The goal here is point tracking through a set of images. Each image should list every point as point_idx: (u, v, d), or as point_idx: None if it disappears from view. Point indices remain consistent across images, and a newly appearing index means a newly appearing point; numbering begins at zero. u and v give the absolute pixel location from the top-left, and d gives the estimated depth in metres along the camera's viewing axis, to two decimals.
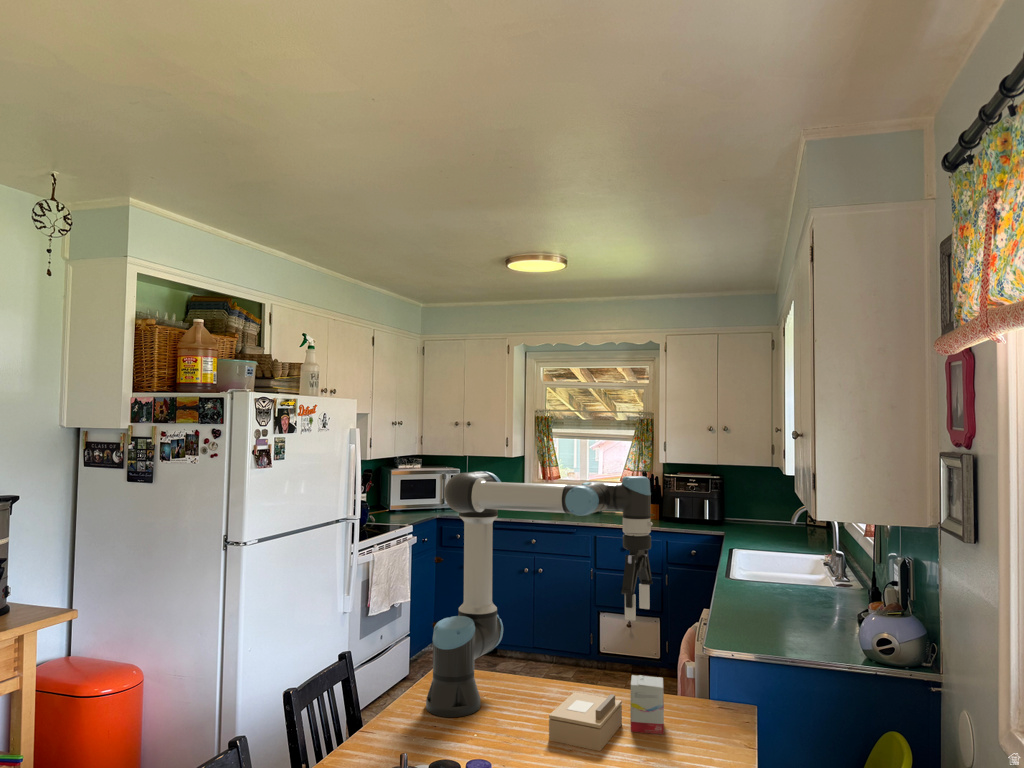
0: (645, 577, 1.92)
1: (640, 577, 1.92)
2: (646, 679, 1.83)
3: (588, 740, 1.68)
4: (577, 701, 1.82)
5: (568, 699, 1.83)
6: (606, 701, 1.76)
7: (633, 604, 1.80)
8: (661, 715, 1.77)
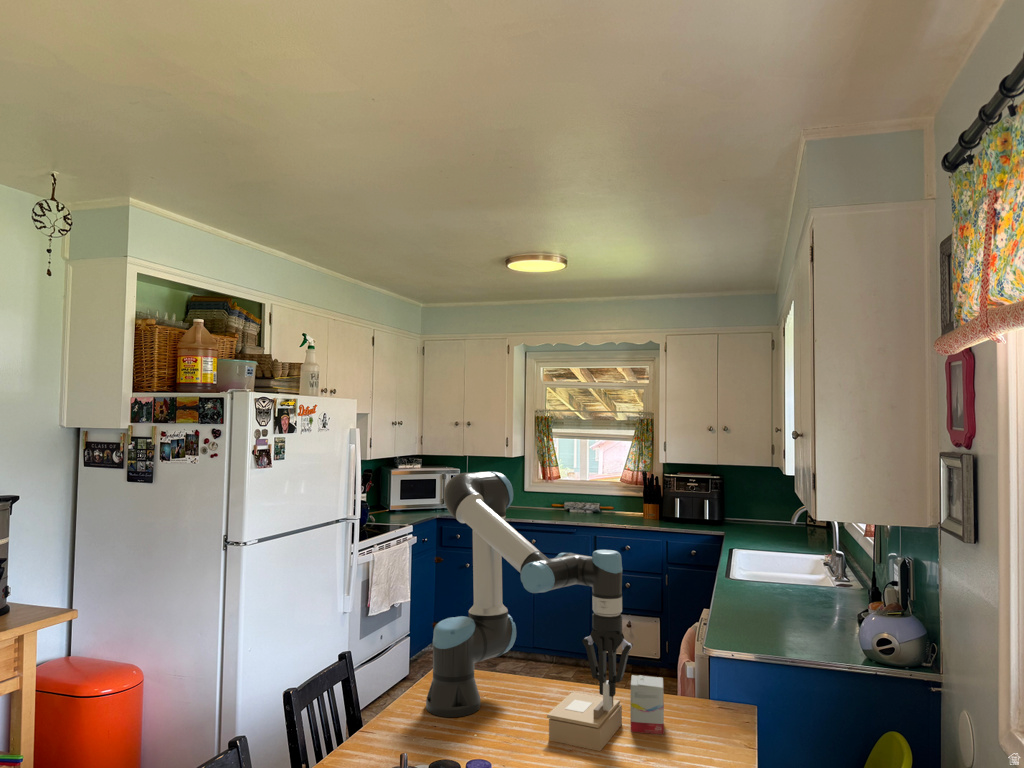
0: None
1: None
2: (646, 679, 1.83)
3: (588, 740, 1.68)
4: (575, 701, 1.82)
5: (566, 699, 1.84)
6: None
7: None
8: (661, 715, 1.77)
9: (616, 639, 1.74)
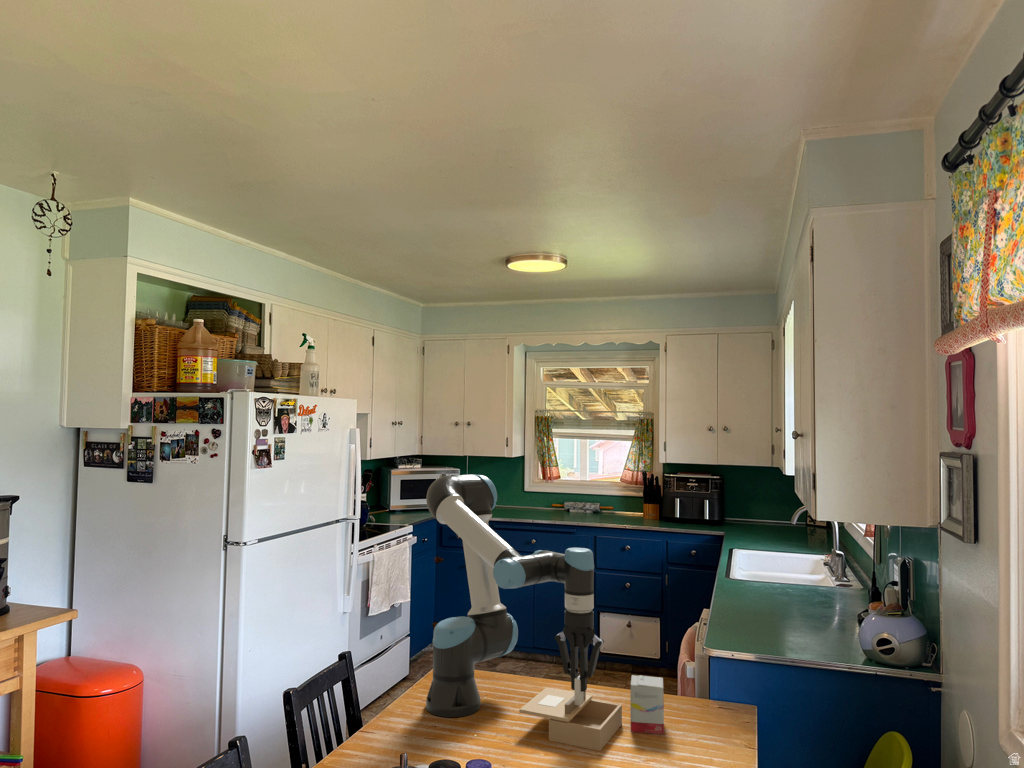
0: None
1: None
2: (645, 679, 1.83)
3: (588, 740, 1.68)
4: (549, 696, 1.85)
5: (540, 694, 1.87)
6: None
7: None
8: (661, 715, 1.77)
9: (587, 635, 1.77)
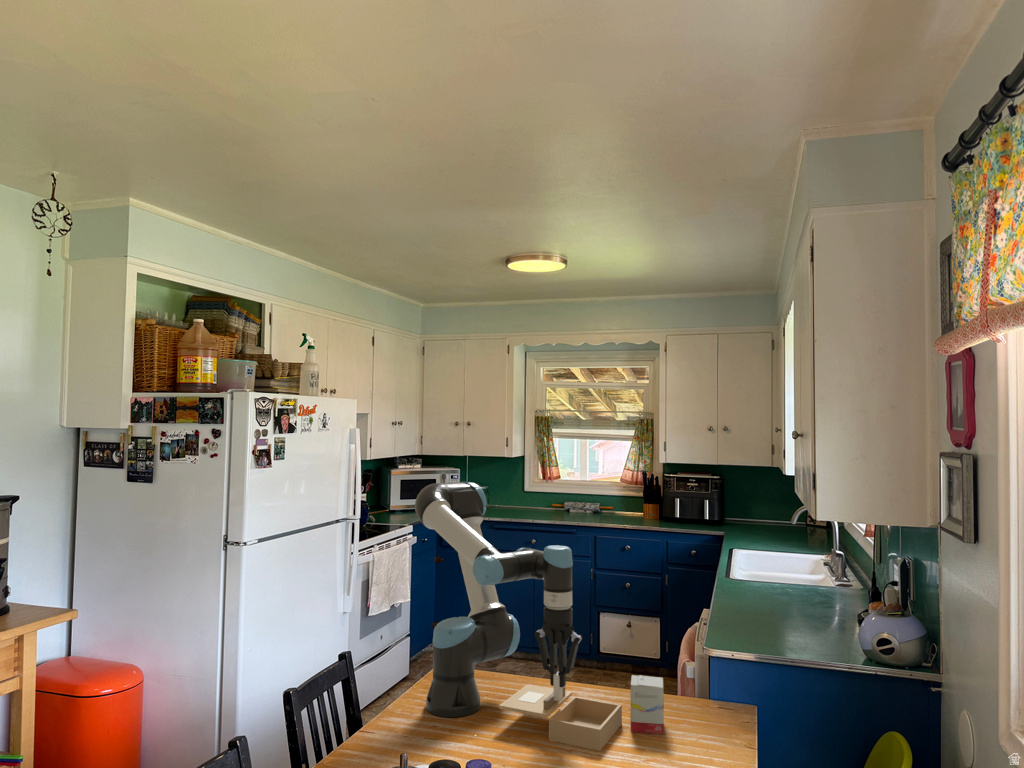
0: None
1: None
2: (646, 679, 1.83)
3: (588, 740, 1.68)
4: (529, 692, 1.88)
5: (520, 690, 1.90)
6: None
7: None
8: (661, 715, 1.77)
9: (566, 632, 1.80)
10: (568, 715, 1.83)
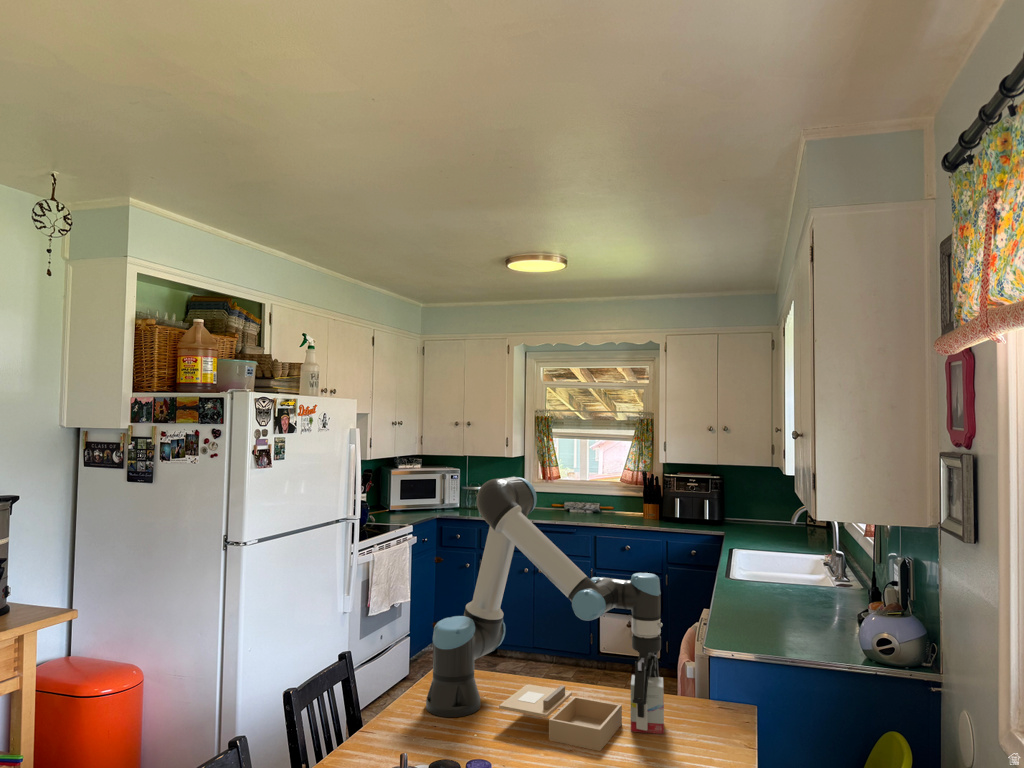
0: None
1: None
2: None
3: (588, 740, 1.68)
4: (529, 692, 1.88)
5: (520, 690, 1.90)
6: (555, 692, 1.83)
7: (645, 713, 1.76)
8: (661, 715, 1.77)
9: (653, 655, 1.85)
10: (568, 715, 1.83)
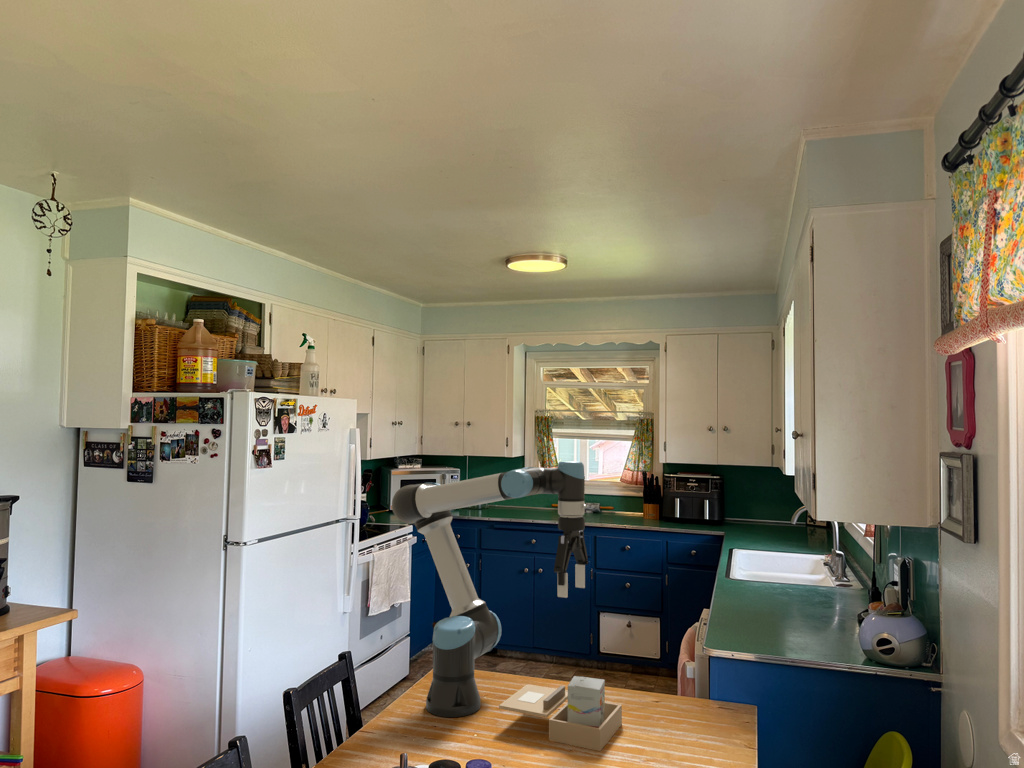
0: (580, 557, 2.01)
1: (576, 557, 2.02)
2: (585, 681, 1.80)
3: (588, 740, 1.68)
4: (529, 692, 1.88)
5: (520, 690, 1.90)
6: (555, 692, 1.83)
7: (565, 582, 1.89)
8: (597, 717, 1.74)
9: (578, 536, 1.99)
10: None
